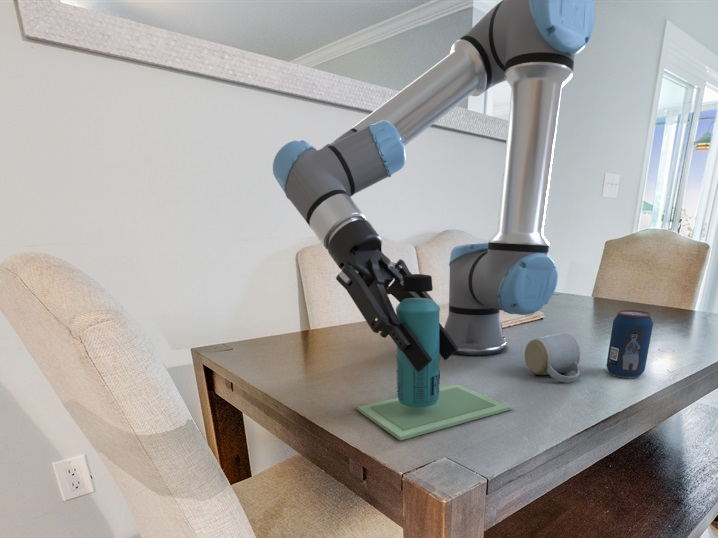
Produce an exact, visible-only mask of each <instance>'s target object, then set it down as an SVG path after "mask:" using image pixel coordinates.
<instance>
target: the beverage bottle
mask: <svg viewBox="0 0 718 538" xmlns="http://www.w3.org/2000/svg"><path fill="white" fill-rule="evenodd" d="M433 287H434V286H433V277H432V275H429V274H421V273H411V275H405V276H404V282H403V290H404V291H409V292H427V293H428V292H432V291H433V289H434V288H433ZM432 299H433V298H432ZM432 299H428V298H407V299H404V300H403V301H401V302H399V304H397V306H396V307H395V313H396V315H397V317H398V320H399V324H398V325H400V324H401V323H403V322H405V323H406V324H407V326H408V327H409V328H410V330H411V331H412V332H413V334H414V335H415V337H416V338H417V339H418V341H419V342H420V343H421V345H422V346H423V347H424V349H425V350H426V352H427V353H428V354H429V356H430V357H431V358H432V361H431V362H430V363H429V364H427V365H426V366H425V367H424V368H423V369H422V370H421V371H419V372H417V371H416V369H415V368H414V366H413V365H412V364H411V362H410V361H409V360H408V358H407V357H406V355H405V354H404V353H403V351H401V350H400V349H399V348H398V346H397V345H396V356H395V359H396V364H395V366H396V370H395V372H396V374H395V375H396V395H397V398H398V400H399V402H400V403H401V404H403V405H405V406H409V407H428V406H432V405H434V404H436V403H437V402H438V399H439V395H440V393H439V388H440V385H441V382H440V379H441V371H440V367H441V364H440V360H441V355H440V353H439V347H440V346H439V344H440V343H439V334H440V333H439V323H440V312H441V308H440V305H438V304H437V302H436V301H435V300H434V299H433V300H434V301H433V300H432ZM440 342H441V341H440Z"/></svg>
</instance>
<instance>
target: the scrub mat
mask: <svg viewBox="0 0 718 538" xmlns="http://www.w3.org/2000/svg"><path fill="white" fill-rule="evenodd" d="M439 393H440V395H439V399H438V402H437V403H436V404H434V405H432V406H428V407H409V406H405V405H403V404H401V403H400V402H399V400H398V397H396V398H391V399H385V400H380V401H376V402H372V403H368V404H363V405H359V406H357V407H356V409H357V410H356V411H358V412H359V413H361V414H362V415H364V416H365V417H366V418H368V419H369V420H371V421H372V422H374V423H375V424H376V425H378V426H379V427H380V428H382V429H383V430H384V431H386V433H389V434H390V435H391V436H392V437H394V438H395V439H397V440H398V441H401V442H402V441H404V440H407V439H411V438H414V437H419V436H422V435H426V434H428V433H433V432H436V431H440V430H443V429H446V428H451V427H454V426H457V425H462V424H465V423H468V422H472V421H476V420H479V419H482V418H486V417H489V416H493V415H497V414H501V413H503V412H508V411H510V406H509V405H506V404H504V403H502V402H500V401H497V400H495V399H493V398H491V397H489V396H486V395H484V394H482V393H480V392H477V391H475V390H473V389H471V388H469V387H466V386H464V385H462V384H460V383H458V384H453V385H449V386H444V387H439Z"/></svg>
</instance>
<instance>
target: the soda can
mask: <svg viewBox="0 0 718 538" xmlns="http://www.w3.org/2000/svg"><path fill="white" fill-rule="evenodd" d="M611 326H612V327H611V334H610V340H609V346H608V353H607V358H606V365H605V366H606V369H607V372H608V373H609V374H610V375H611V376H613V377H616V378H621V379H637V378H640V377H641V375H642V374H644V372H645V370H646V366H647V361H648V354H649V350H650V349H649V348H650V343H651V338H652V333H653V326H654V321H653V319H652V313H651V312H648V311H644V310H635V309H622V310H618V311H617V315H616V316H615V317H614V319H613V320H612V325H611Z"/></svg>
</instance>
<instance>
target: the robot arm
mask: <svg viewBox="0 0 718 538" xmlns="http://www.w3.org/2000/svg"><path fill="white" fill-rule="evenodd" d="M595 25H596V8H595V1H594V0H501V1H500V2H498V3H497V4H496V5H495V6H493V7H492V8H491V9H490V10H489V11H488V12H487V13H486V14H485V15H484V16H483V17H482V18H480V20H479V21H478V22H477V23H476V24H475V25H473V27H472V28H471V29H469V30H468V31H467V32H466V33H465V34H464V35H462V36H461V37H460V38H458V39H457V40H456V41H454V43H453V44H452V45H451V48H450V51H449V54H448V55H447V56H445V57H444V58H442V59H441V60H440V61H439V62H437V63H435V65H433V66H431V68H429V69H428V70H426V71H425V72H424V73H423V74H421V75H420V76H418V77H417V78H416V79H414V80H413V81H412V82H411V83H409V84H408V85H407V86H405V87H404V88H402V89H401V90H400V91H398V92H397V93H396V94H395V95H393V96H392V97H390V98H389V99H388V100H387V101H385V102H384V103H382V104H381V105H380V106H379V107H377V108H376V109H374V110H373V111H372V112H371V113H370V114H368V115H367V116H365V117H364V118H362V119H361V120H360V121H359V122H357V123H356V124H355V125H353V126H351V128H350V129H349V130H347V131H346V132H344V133H343V134H341V135H340V136H339V137H337V138H336V139H335V140H334V141H332V142H331V143H327V144H326V145H324V146H323V147H322V148H320V149H317V148H316V147H314V146H313V145H312V144H311V143H310V142H308V141H306V140H302V139H301V140H292V141H289V142H287V143H285V144H284V145H283V146H281V148H280V149H278V151H277V152H276V154H275V156H274V159H273V162H272V175H273V176H274V178H275V180H276V181H277V183H278V185H279V186H280V188H281V189H282V191H283V193H284V195H285V197H286V199H288V200H289V201H290V203H292V205H293V207H295V209H296V211H297V212H298V213H299V214H300V215H301V216H302V218H303V219H304V221H305V222H306V223H307V225H308V226H309V228H310V229H311V230H312V232H313V233H314V234H315V236H316V237H317V239H318V240H319V241H320V243H321V244H322V246H323V247H324V249H326V250H327V252H328V254H329V256H330V257H331V259H332V260H333V261H334V263H335V264H336V265H337V267H338V268H339V269H340V270H339V272H338V273H337V275H336V276H335V280H336V281H337V282H338V283H339V284H340V285H341V286H342V287H343V288H344V289H345V290H346V291H347V293H348V295H349V297H350V298H351V300H352V301H353V303H354V304H355V306H356V307H357V309H358V310H359V312H360V314H361V315H362V317H363V318H364V320H365V321H366V323H367V325H368V326H369V328H370V329H371V331H372V332H373V333H375V334H379V336H380V337H382V338H384V339H386V338H387V337H390V338H391V340H392V342H394V345H396V347H397V346H398V348H399V349H400V350H401V351H403V353H404V354H405V355H406V357H407V358H408V360H409V361H410V362H411V364H412V365H413V366H414V368H415V369H416V371H417V372H419V371H421V370H422V369H423V368H424V367H425V366H426V365H427V364H429V363H430V362H431V361H432V358H431V357H430V356H429V354H428V353H427V352H426V350H425V349H424V347H423V346H422V345H421V343H420V342H419V341H418V339H417V338H416V337H415V335H414V334H413V332H412V331H411V330H410V328H409V327H408V326H407V324H406V323H405V322H403V323H401V324H400V325H398V324H399V320H398V317H397V315H396V310H395V309H394V306H393V304H392V302H391V300H390V297H389V295H391V296H393V297H394V298H395V299H396V300H397V302H399V303H400V302H401V301H403V300H404V299H407V298H428V299H432V300H433V301H434V302H435V300H434V299H433V298H432V297H431V295H430V294H429V293H428V292H409V291H404V290H403V282H404V276H405V275H411V274H412V272H411V271H410V270H409V267H408V266H407V264H406V262H405V260H403V259H398V260H397V262H393V261H391V259H390V258H389V257H388V256H387V255H385V254H384V252H383V251H382V246H383V240H382V237H381V236H380V234H379V233H378V232H377V231H376V228H374V227H373V225H372V224H371V222H369V221H368V220H367V217H366V215H365V214H364V213H363V211H362V210H361V209H360V208H359V206H358V205H357V204H356V203H355V201H354V200H353V199H352V198H351V197H352V196H354V195H356V194H357V193H359V192H362V191H364V190H365V189H368V188H369V187H372V186H373V185H375V184H377V183H379V182H381V181H383V180H385V179H387V178H391V177H392V175H394V174H395V173H397V172H399V171H401V170H402V169H403V168H404V166H405V164H406V160H407V155H406V154H407V153H406V147H405V146H407V145H408V144H409V143H410V142H412V141H413V140H414V139H416V138H417V137H418V136H420V135H421V134H422V133H424V131H426V130H427V129H429V128H431V126H433V125H434V124H435V123H436V122H438V121H439V120H440V119H442V118H443V117H444V116H445V115H447V114H448V113H450V112H451V111H452V110H453V109H455V108H456V107H457V106H459V105H460V104H461V103H462V102H464V101H466V100H467V98H469V97H479V96H481V95H482V94H484V93H485V92H486V91H487V90H489V89H491V88H493V87H494V86H496V85H499V84H500V83H504V82H507V84H508V85H509V86H510V88H511V91H510V92H511V93H510V99H509V100H510V101H509V111H508V122H507V131H506V141H505V152H504V161H503V162H504V163H503V172H502V181H501V189H500V191H501V192H500V199H499V201H500V202H499V210H498V211H499V212H498V221H497V231H496V232H495V234H493V236H492V237H491V238H490V239H488V242H480V243H468V244H460V245H456V246H454V247H453V248H452V249H451V251H450V257H449V264H448V266H449V280H448V281H449V282H448V283H449V285H448V286H449V287H448V288H449V289H448V290H449V291H448V315H447V318H446V320H445V324H444V327H443V325H442V324H441V323H440V322H439V333H440V334H439V343H440V344H439V346H440V347H439V355H440V357H442V359H443V361H446V360H448V359H450V357H452V356H453V355H454V354H457V355H464V356H489V355H495V354H500V353H501V352H503V351H505V350H506V343H507V342H506V337H505V334H504V330H503V329H504V328H503V324H502V320H501V316H500V313H501V312H500V311H503V312H504V313H507V314H509V315H518V316H519V315H520V316H528V315H532V314H535V313H537V312H538V311H540V310H541V309H542V308H543V307H544V306H545V305H547V304H548V303H549V301H550V300H551V298H552V297H553V295H554V293H555V292H556V288H557V286H558V285H557V284H558V277H559V275H558V274H559V273H558V268H557V266H556V265H555V261H554V260H553V259H552V258H551V257H550V256H549V250H550V242H549V241H548V239H546V237H545V236H544V227H545V226H544V225H545V219H546V210H547V204H548V196H549V189H550V180H551V173H552V164H553V158H554V149H555V143H556V134H557V128H558V127H557V126H558V119H559V112H560V105H561V104H560V103H561V96H562V88H563V87H564V86H565V85H566V84H567V83H568V82H569V81H570V80H571V79H572V77H573V74H574V67H575V60H576V54H579V53H580V52H581V51H582V50H583V49H584V48H585V47H586V45H587V44H588V43H589V42H590V40H591V38H592V36H593V33H594V29H595ZM379 332H380V333H379ZM440 341H441V342H440Z"/></svg>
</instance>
